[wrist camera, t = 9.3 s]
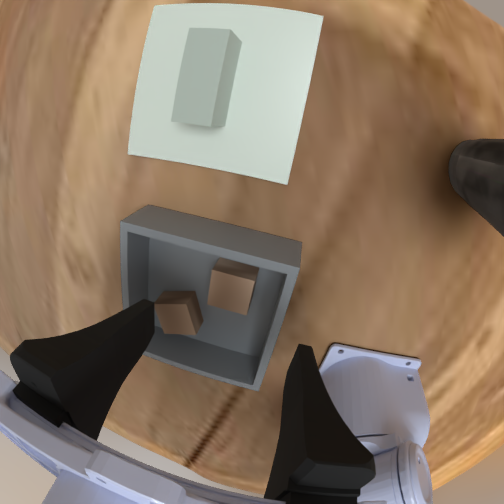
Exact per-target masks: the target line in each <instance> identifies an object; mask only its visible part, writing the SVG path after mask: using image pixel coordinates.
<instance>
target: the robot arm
mask: <svg viewBox="0 0 504 504" xmlns="http://www.w3.org/2000/svg"><path fill="white" fill-rule="evenodd" d="M154 308H155V302H152V301H149V300H146V299H142V300H141V301H139V302H137V303H135V304H133V305H132V306H130V307H128V308H126V309H124V310H123V311H121V312H119V313H117V314H115V315H113V316H112V317H109V318H107V319H105V320H103V321H101V322H99V323H97V324H95V325H92V326H90V327H87V328H84V329H82V330H79V331H75V332H72V333H68V334H65V335H61V336H56V337H50V338H43V339H32V340H24V341H23V342H22V343H21V344H20V345H19V346H18V347H17V348H16V349H15V350H14V351H13V352H12V353H11V355H10V360H11V364H12V366H13V368H14V370H15V372H16V374H17V376H18V377H19V380H20V382H19V383H18V384H16V383H15V382H14V381H13V380H12V379H11V378H10V377H9V376H8V375H6V374H5V373H4V372H3V371H1V370H0V431H1V432H2V433H3V434H4V435H5V436H6V437H8V438H9V439H10V440H11V441H12V442H13V443H14V444H16V445H17V446H18V447H19V448H21V450H23V451H24V452H25V453H26V454H27V455H29V456H30V457H31V458H32V459H34V460H35V461H36V462H38V463H39V464H40V465H41V466H43V467H44V468H46V469H47V470H48V471H49V472H51V473H52V474H54V475H55V476H56V477H57V479H56V480H55V482H54V484H53V485H52V487H51V489H50V491H49V492H48V494H47V496H46V498H45V499H44V501H43V503H42V504H433V501H432V482H431V475H430V471H429V467H428V463H427V460H426V457H425V454H424V452H423V450H422V447H423V446H424V444H425V442H426V440H427V437H428V433H429V427H430V415H429V410H428V406H427V402H426V398H425V395H424V391H423V387H422V384H421V380H420V377H419V374H418V368H419V367H420V365H421V361H420V359H416V358H410V357H404V356H398V355H392V354H387V353H381V352H376V351H370V350H365V349H360V348H355V347H350V346H345V345H341V344H333V345H331V346H330V348H329V350H328V352H327V354H326V356H325V358H324V360H323V362H322V364H321V366H320V368H319V369H318V366H317V363H316V359H315V356H314V352H313V348H312V347H311V346H307V345H303V344H299V345H298V347H297V349H296V352H295V354H294V357H293V359H292V361H291V364H290V366H289V369H288V371H287V375H286V380H285V385H284V392H283V404H282V416H281V428H280V435H279V440H278V444H277V449H276V454H275V458H274V462H273V466H272V470H271V474H270V478H269V481H268V485H267V488H266V492H265V495H264V498H258V497H253V496H248V495H244V494H239V493H235V492H230V491H226V490H222V489H218V488H214V487H211V486H207V485H203V484H200V483H197V482H194V481H191V480H187V479H185V478H182V477H179V476H176V475H173V474H170V473H167V472H165V471H162V470H159V469H157V468H154V467H152V466H149V465H146V464H144V463H142V462H139V461H137V460H135V459H132V458H130V457H128V456H126V455H124V454H122V453H119V452H118V451H115V450H113V449H111V448H109V447H107V446H105V445H103V444H102V443H100V442H98V441H97V438H98V436H99V433H100V430H101V428H102V425H103V423H104V421H105V418H106V416H107V414H108V411H109V409H110V407H111V405H112V403H113V401H114V399H115V397H116V395H117V393H118V391H119V389H120V387H121V385H122V383H123V382H124V380H125V379H126V377H127V376H128V374H129V373H130V371H131V370H132V369H133V367H134V366H135V364H136V363H137V362H138V360H139V359H140V357H141V356H142V354H143V353H144V351H145V350H146V349H147V347H148V345H149V343H150V341H151V339H152V337H153V335H154V333H155V311H154ZM339 350H342V351H339ZM407 362H408V363H407Z"/></svg>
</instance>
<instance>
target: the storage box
mask: <svg viewBox="0 0 504 504" xmlns="http://www.w3.org/2000/svg"><path fill="white" fill-rule="evenodd" d="M301 248H302V242H299V241H295V240H291V239H287V238H283V237H279V236H276V235H272V234H268V233H264V232H260V231H256V230H252V229H248V228H244V227H240V226H236V225H232V224H228V223H224V222H220V221H215V220H211V219H207V218H203V217H199V216H195V215H191V214H186V213H182V212H178V211H174V210H169V209H165V208H161V207H157V206H152V205H147V206H145V207H143V208H142V209H140V210H138V211H137V212H135V213H133V214H131V215H130V216H128V217H126V218H125V219H123V220H121V221H120V258H121V284H122V301H123V310H124V309H126V308H128V307H130V306H132V305H133V304H135V303H137V302H139V301H141V300H142V299H146V300H149V301H152V302H155V301H156V300H157V299H158V298H159V296H160V295H161V294H162V293H163V291H195V292H196V295H197V299H198V302H199V306H200V309H201V313H202V316H203V320H204V321H203V323H202V325H201V327H200V329H199V331H198V333H197V334H196V335H183V334H164V332H163V329H162V326H161V324H160V321H159V318H158V316H157V313H156V310H155V308H154V311H155V333H154V335H153V337H152V339H151V341H150V343H149V345H148V347H147V349H146V350H145V351H144V353H143V355H145V356H148V357H151V358H153V359H156V360H159V361H161V362H164V363H167V364H170V365H172V366H175V367H178V368H181V369H184V370H187V371H190V372H193V373H196V374H199V375H202V376H205V377H209V378H212V379H215V380H219V381H222V382H225V383H229V384H233V385H236V386H240V387H244V388H247V389H251V390H255V391H259V388H260V386H261V383H262V380H263V377H264V375H265V372H266V369H267V366H268V363H269V361H270V358H271V355H272V352H273V349H274V346H275V343H276V340H277V337H278V335H279V332H280V329H281V326H282V323H283V320H284V317H285V313H286V310H287V307H288V304H289V301H290V298H291V295H292V292H293V289H294V285H295V282H296V279H297V276H298V273H299V269H300V261H301ZM220 257H221V258H225V259H229V260H232V261H236V262H240V263H244V264H248V265H251V266H255V267H259V272H258V276H257V280H256V284H255V289H254V293H253V297H252V301H251V304H250V307H249V310H248V313H247V315H243V314H239V313H236V312H232V311H229V310H225V309H222V308H218V307H215V306H211V305H208V304H207V302H208V295H209V287H210V280H211V273H212V269H213V267H214V266H215V264H216V263H217V261H218V260H219V258H220Z"/></svg>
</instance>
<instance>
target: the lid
mask: <svg viewBox="0 0 504 504" xmlns="http://www.w3.org/2000/svg"><path fill="white" fill-rule="evenodd" d="M322 22H323V16H320V15H316V14H311V13H305V12H300V11H294V10H288V9H281V8H273V7H265V6H255V5H242V4H222V3H189V4H169V5H156V6H154V9H153V13H152V17H151V20H150V24H149V28H148V32H147V37H146V41H145V45H144V50H143V54H142V59H141V64H140V69H139V75H138V80H137V86H136V92H135V98H134V105H133V112H132V120H131V128H130V137H129V146H128V154H130V155H137V156H144V157H150V158H157V159H163V160H169V161H175V162H181V163H186V164H192V165H197V166H203V167H208V168H213V169H218V170H223V171H228V172H233V173H237V174H242V175H247V176H251V177H256V178H260V179H265V180H269V181H273V182H277V183H282V184H286V185H287V184H288V180H289V175H290V171H291V167H292V162H293V158H294V153H295V149H296V144H297V140H298V135H299V131H300V126H301V122H302V117H303V113H304V108H305V104H306V99H307V94H308V90H309V85H310V80H311V76H312V71H313V66H314V61H315V56H316V52H317V47H318V42H319V37H320V32H321V27H322Z"/></svg>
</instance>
